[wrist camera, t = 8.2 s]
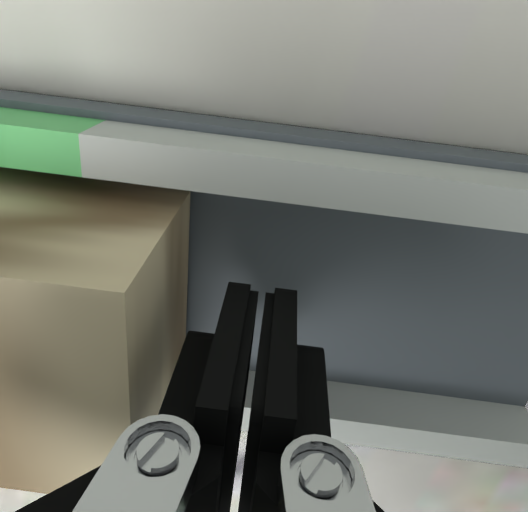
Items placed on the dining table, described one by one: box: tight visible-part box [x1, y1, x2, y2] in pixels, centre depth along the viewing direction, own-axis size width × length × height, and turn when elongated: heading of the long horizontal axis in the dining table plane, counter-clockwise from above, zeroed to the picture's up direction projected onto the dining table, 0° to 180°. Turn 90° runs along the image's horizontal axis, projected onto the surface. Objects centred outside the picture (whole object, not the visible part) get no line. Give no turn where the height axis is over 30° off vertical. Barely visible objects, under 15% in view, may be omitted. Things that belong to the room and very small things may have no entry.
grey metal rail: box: [0, 89, 528, 468], centre depth 13 cm, size 25×9×3 cm, turn 84°
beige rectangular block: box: [0, 167, 190, 494], centre depth 11 cm, size 6×9×6 cm
